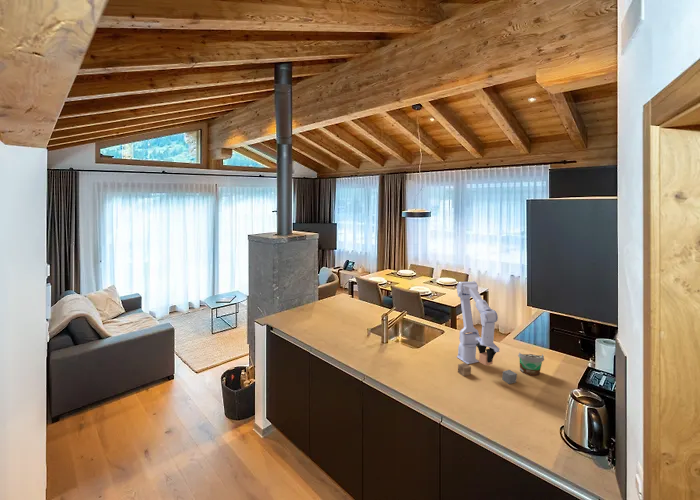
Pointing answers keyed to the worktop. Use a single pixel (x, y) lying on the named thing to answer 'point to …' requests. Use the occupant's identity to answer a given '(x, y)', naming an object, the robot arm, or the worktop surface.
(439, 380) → the worktop surface
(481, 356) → the terracotta block
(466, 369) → the walnut block
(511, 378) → the charcoal block
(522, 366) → the food container
